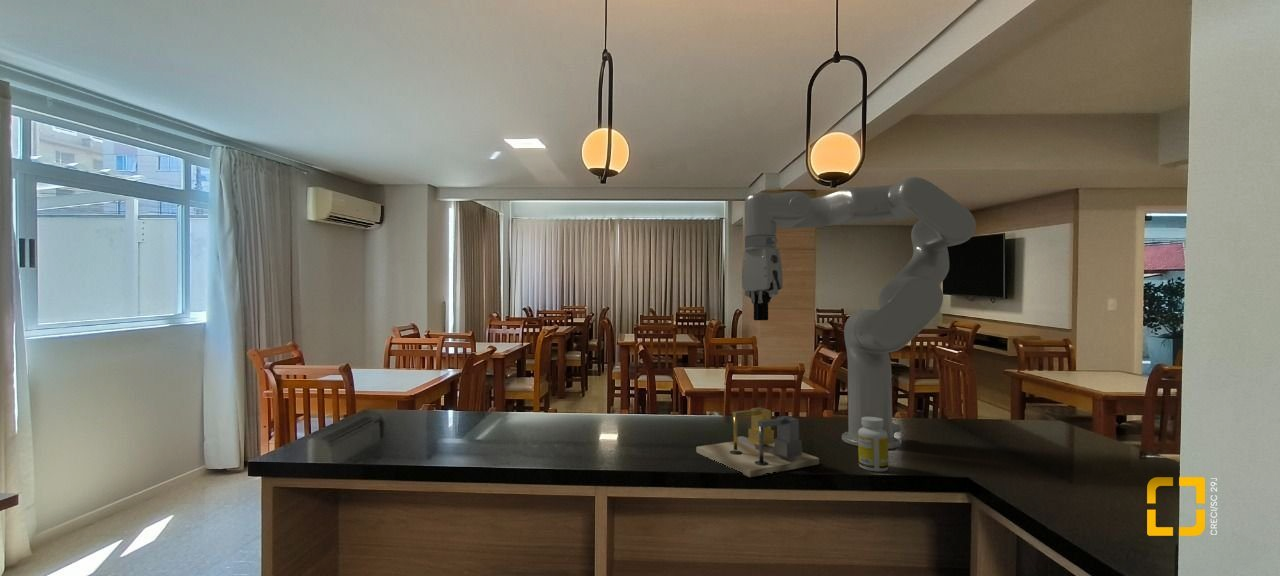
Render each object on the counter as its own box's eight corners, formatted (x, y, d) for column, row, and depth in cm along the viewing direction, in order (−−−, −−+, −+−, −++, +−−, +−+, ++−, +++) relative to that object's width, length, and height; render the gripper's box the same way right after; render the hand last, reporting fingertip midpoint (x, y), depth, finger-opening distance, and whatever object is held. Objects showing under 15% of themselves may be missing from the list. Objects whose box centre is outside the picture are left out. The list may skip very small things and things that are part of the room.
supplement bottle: (885, 465, 99) (884, 416, 100) (891, 473, 94) (890, 422, 95) (856, 462, 101) (855, 415, 101) (860, 471, 96) (860, 420, 96)
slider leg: (762, 442, 109) (762, 407, 109) (773, 446, 106) (773, 410, 106) (728, 447, 105) (728, 410, 105) (739, 451, 101) (739, 414, 102)
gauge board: (759, 442, 116) (759, 433, 116) (819, 464, 100) (818, 453, 100) (696, 452, 107) (696, 442, 108) (749, 477, 91) (749, 465, 92)
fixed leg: (789, 454, 102) (788, 415, 102) (801, 458, 98) (801, 418, 99) (753, 460, 97) (753, 419, 98) (766, 465, 94) (765, 423, 95)
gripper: (794, 242, 114) (795, 320, 113) (752, 249, 127) (752, 319, 126) (769, 240, 110) (770, 321, 109) (729, 247, 124) (729, 319, 123)
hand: (760, 320), depth 118 cm, fingers closed
